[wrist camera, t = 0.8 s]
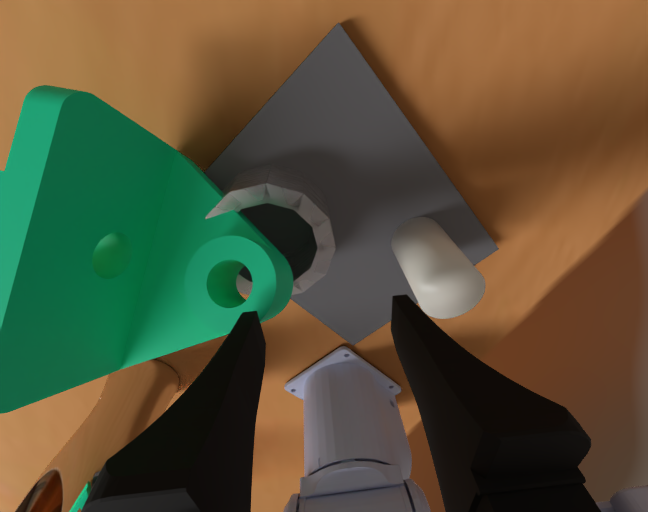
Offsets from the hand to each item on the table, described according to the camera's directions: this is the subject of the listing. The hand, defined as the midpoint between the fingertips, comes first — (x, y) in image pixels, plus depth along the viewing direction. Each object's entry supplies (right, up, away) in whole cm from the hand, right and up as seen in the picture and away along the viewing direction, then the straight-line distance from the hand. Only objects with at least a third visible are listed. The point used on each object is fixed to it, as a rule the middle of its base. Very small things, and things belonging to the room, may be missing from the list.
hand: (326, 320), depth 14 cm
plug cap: (+6, +4, +8) cm, 11 cm away
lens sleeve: (-3, +6, +8) cm, 10 cm away
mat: (+2, +5, +8) cm, 10 cm away
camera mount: (-12, +3, +1) cm, 13 cm away
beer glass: (-17, -9, +16) cm, 25 cm away
